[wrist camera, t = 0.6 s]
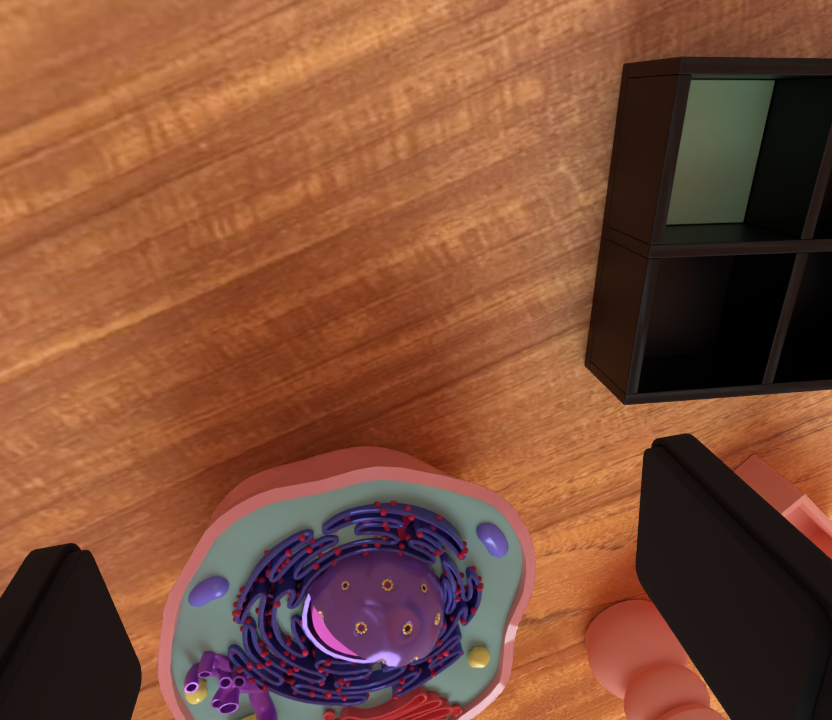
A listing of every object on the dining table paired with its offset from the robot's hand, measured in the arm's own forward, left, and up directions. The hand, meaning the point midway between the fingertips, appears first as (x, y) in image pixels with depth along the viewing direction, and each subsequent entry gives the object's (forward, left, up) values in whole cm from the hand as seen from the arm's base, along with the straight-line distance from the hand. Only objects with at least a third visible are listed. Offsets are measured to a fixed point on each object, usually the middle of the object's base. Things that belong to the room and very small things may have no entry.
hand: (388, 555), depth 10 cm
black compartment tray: (-1, +20, -20) cm, 28 cm away
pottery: (+23, +22, -20) cm, 38 cm away
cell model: (+16, -1, -20) cm, 25 cm away
